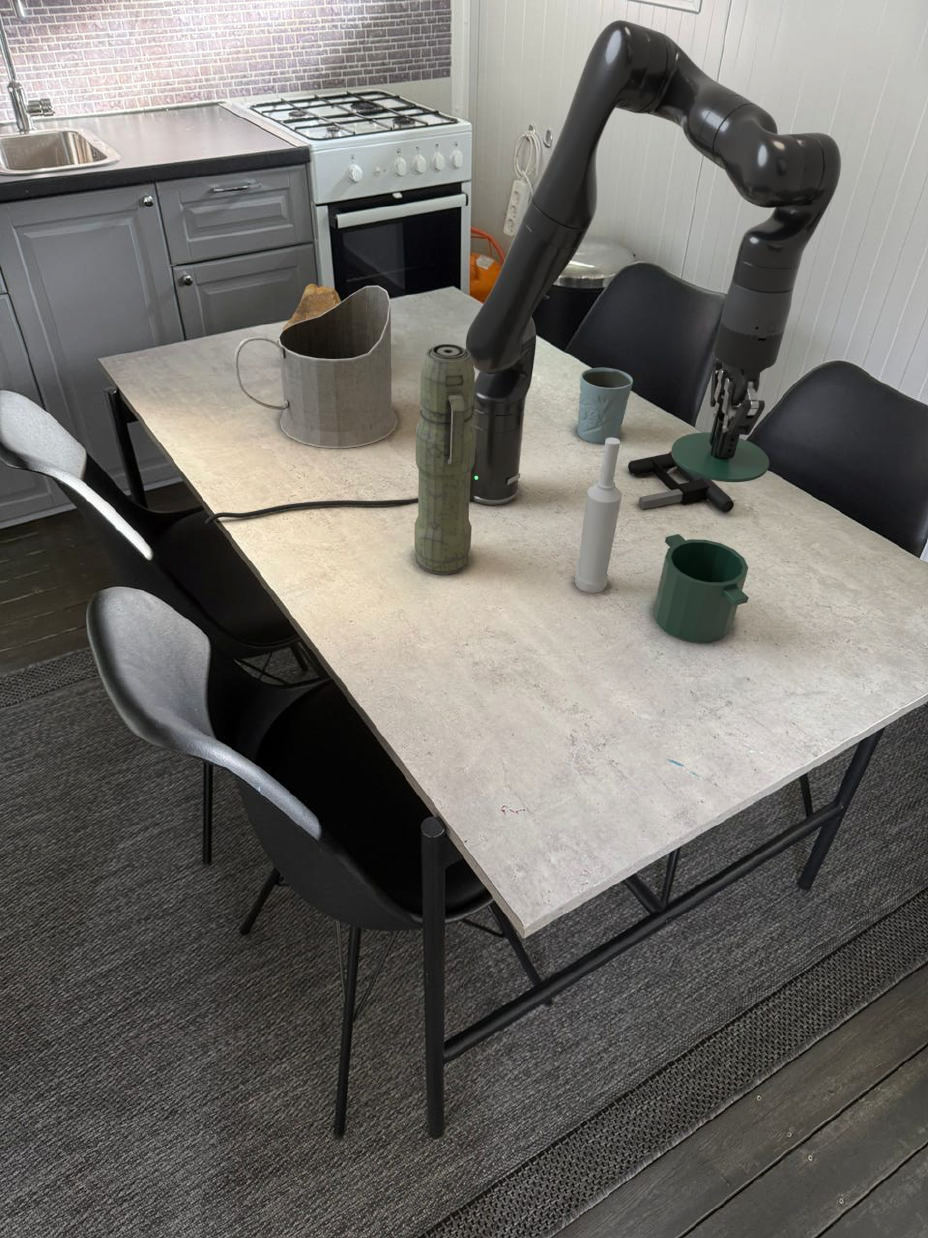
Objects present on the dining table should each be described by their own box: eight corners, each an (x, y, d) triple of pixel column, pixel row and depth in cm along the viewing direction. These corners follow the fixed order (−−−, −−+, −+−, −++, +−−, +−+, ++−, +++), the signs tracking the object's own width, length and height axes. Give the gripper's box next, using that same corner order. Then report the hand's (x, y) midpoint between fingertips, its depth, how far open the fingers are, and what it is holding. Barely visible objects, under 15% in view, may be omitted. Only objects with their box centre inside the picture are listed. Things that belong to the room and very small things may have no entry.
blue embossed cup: (567, 438, 181) (574, 381, 174) (581, 418, 189) (588, 362, 181) (616, 449, 179) (625, 392, 171) (629, 428, 186) (638, 372, 179)
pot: (693, 662, 129) (708, 604, 123) (629, 595, 141) (640, 538, 135) (758, 643, 133) (777, 585, 127) (691, 579, 145) (704, 523, 139)
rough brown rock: (270, 351, 211) (258, 288, 201) (338, 337, 216) (331, 274, 206) (297, 396, 195) (286, 329, 185) (370, 379, 200) (363, 313, 190)
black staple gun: (661, 515, 156) (742, 497, 160) (608, 460, 170) (683, 444, 174) (658, 531, 158) (738, 513, 162) (606, 475, 172) (681, 460, 176)
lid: (708, 494, 113) (719, 450, 110) (651, 448, 122) (659, 406, 118) (787, 476, 118) (800, 433, 114) (727, 433, 127) (737, 392, 123)
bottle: (611, 579, 144) (635, 437, 129) (600, 597, 141) (625, 452, 125) (580, 571, 146) (601, 429, 130) (569, 588, 142) (589, 444, 127)
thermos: (431, 585, 141) (435, 371, 119) (403, 545, 149) (402, 338, 128) (482, 573, 144) (496, 362, 122) (452, 535, 153) (460, 331, 131)
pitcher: (417, 431, 181) (418, 307, 165) (268, 469, 167) (254, 336, 152) (363, 387, 196) (360, 269, 180) (222, 418, 182) (205, 293, 167)
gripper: (705, 299, 113) (678, 426, 124) (741, 343, 102) (708, 478, 113) (764, 300, 114) (732, 426, 125) (805, 344, 103) (766, 478, 114)
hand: (721, 450), depth 119 cm, fingers closed on lid, 2 cm apart
